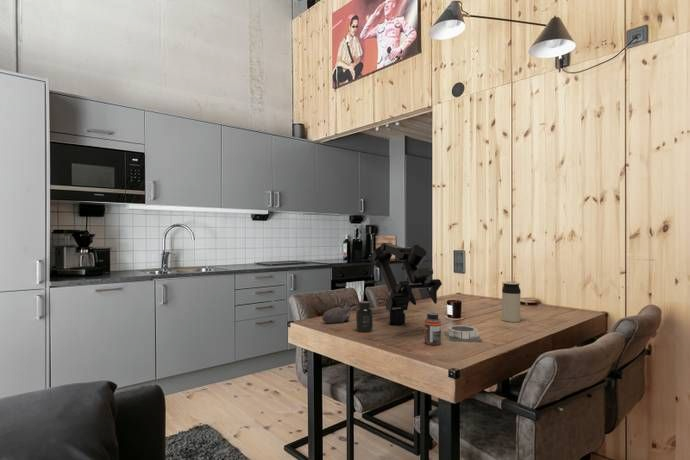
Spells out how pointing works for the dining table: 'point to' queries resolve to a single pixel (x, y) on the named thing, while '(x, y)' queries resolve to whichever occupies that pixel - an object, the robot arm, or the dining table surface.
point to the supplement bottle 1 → (364, 317)
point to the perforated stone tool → (337, 315)
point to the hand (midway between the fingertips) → (425, 303)
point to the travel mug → (511, 301)
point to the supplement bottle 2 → (432, 329)
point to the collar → (463, 333)
